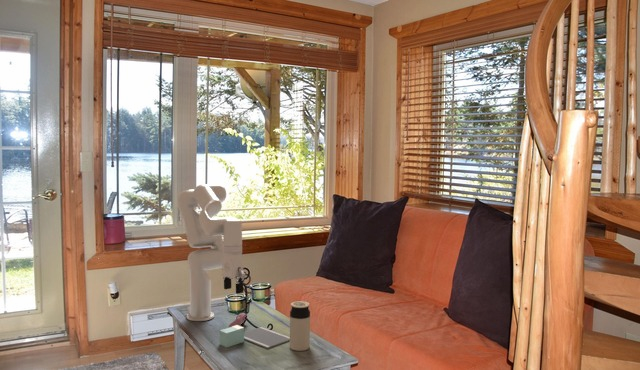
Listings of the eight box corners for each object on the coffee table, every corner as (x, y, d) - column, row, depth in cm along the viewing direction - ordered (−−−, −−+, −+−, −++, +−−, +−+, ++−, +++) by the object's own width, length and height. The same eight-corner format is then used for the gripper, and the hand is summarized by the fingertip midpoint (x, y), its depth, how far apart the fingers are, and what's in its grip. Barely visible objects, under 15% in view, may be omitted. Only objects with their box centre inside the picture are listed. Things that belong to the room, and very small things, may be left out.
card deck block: (219, 344, 226) (219, 330, 225) (237, 339, 232) (237, 324, 232) (226, 347, 223) (226, 332, 222) (244, 341, 229) (244, 327, 229)
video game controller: (236, 333, 243) (243, 320, 242) (227, 328, 244) (234, 314, 242) (243, 326, 253) (250, 313, 252) (235, 321, 253) (241, 308, 252)
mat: (235, 336, 235) (235, 334, 235) (260, 328, 245) (260, 326, 245) (267, 348, 222) (267, 347, 222) (292, 339, 232) (292, 338, 232)
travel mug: (294, 352, 218) (295, 307, 217) (286, 345, 225) (286, 302, 224) (312, 349, 222) (313, 305, 220) (304, 342, 229) (304, 300, 227)
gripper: (214, 247, 232) (215, 288, 232) (235, 253, 218) (236, 296, 219) (230, 246, 236) (231, 286, 237) (251, 251, 223) (252, 293, 223)
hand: (233, 290), depth 228 cm, fingers open, 9 cm apart
